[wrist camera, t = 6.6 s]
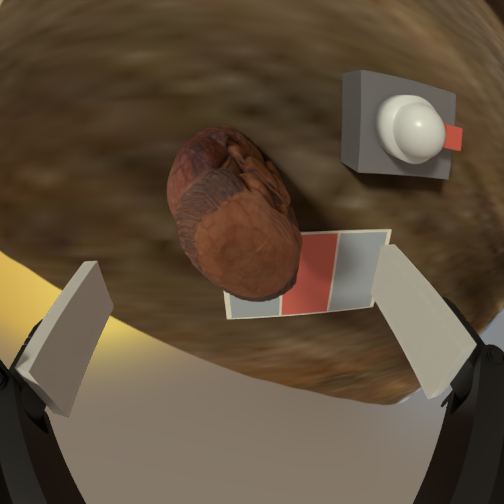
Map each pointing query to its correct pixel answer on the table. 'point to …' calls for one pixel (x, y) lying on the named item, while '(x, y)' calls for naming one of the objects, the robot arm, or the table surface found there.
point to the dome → (409, 128)
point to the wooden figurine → (234, 215)
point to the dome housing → (363, 132)
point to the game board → (324, 276)
